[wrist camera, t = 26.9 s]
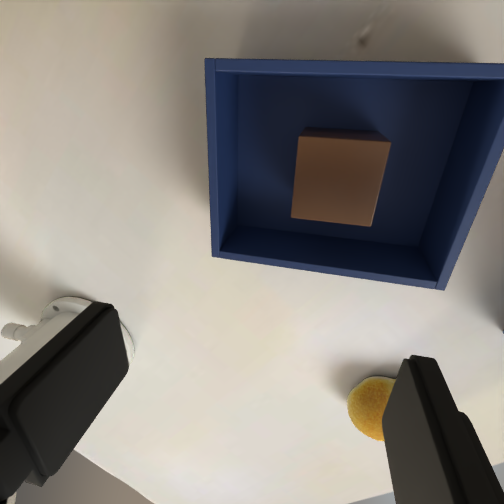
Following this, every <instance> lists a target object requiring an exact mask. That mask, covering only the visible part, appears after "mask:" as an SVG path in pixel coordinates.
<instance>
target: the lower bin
mask: <svg viewBox="0 0 504 504" xmlns="http://www.w3.org/2000/svg"><path fill="white" fill-rule="evenodd" d="M204 60H205V87H206V114H207V141H208V167H209V194H210V221H211V248H212V257H217V258H219V257H220V258H224V259H230V260H237V261H244V262H251V263H258V264H265V265H272V266H279V267H285V268H292V269H299V270H306V271H313V272H320V273H327V274H334V275H340V276H347V277H354V278H361V279H368V280H375V281H382V282H389V283H395V284H402V285H409V286H416V287H423V288H430V289H437V290H445V288H446V285H447V283H448V281H449V278H450V276H451V273H452V271H453V269H454V266H455V264H456V261H457V259H458V257H459V254H460V252H461V249H462V247H463V245H464V242H465V240H466V237H467V235H468V233H469V230H470V228H471V225H472V223H473V221H474V218H475V216H476V213H477V211H478V209H479V206H480V204H481V201H482V199H483V197H484V194H485V192H486V189H487V187H488V185H489V182H490V180H491V177H492V175H493V173H494V170H495V168H496V165H497V163H498V161H499V158H500V156H501V153H502V151H503V149H504V63H452V62H396V61H340V60H284V59H228V58H216V59H215V58H205V59H204ZM305 127H316V128H333V129H350V130H368V131H379V132H380V133H381V134H382V135H384V136H385V137H386V138H387V139H388V140H389V141H391V147H390V151H389V155H388V159H387V163H386V168H385V172H384V176H383V180H382V184H381V188H380V192H379V197H378V201H377V205H376V209H375V213H374V217H373V221H372V225H371V227H369V226H360V225H351V224H343V223H334V222H325V221H316V220H307V219H299V218H291V207H292V197H293V187H294V177H295V167H296V157H297V147H298V137H299V135H300V134H301V133H302V131H303V130H304V128H305Z"/></svg>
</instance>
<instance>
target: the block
mask: <svg viewBox="0 0 504 504" xmlns="http://www.w3.org/2000/svg"><path fill="white" fill-rule="evenodd" d="M390 147H391V141H389V140H388V139H387V138H386V137H385V136H384V135H382V134H381V133H380V132H379V131H368V130H350V129H333V128H316V127H305V128H304V130H303V131H302V133H301V134H300V135H299V137H298V147H297V157H296V167H295V177H294V187H293V197H292V207H291V218H299V219H307V220H316V221H325V222H334V223H343V224H351V225H360V226H369V227H371V225H372V221H373V217H374V213H375V209H376V205H377V201H378V197H379V192H380V188H381V184H382V180H383V176H384V172H385V168H386V163H387V159H388V155H389V151H390Z"/></svg>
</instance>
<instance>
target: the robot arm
mask: <svg viewBox="0 0 504 504" xmlns="http://www.w3.org/2000/svg"><path fill="white" fill-rule="evenodd" d="M1 335H2V337H4V338H7V339H11V340H15V341H18V340H19V341H21V344H20V345H19V346H18V347H17V348H16V349H14V350H13V351H12V352H11V353H10V354H8V355H7V356H6V357H5V358H3V359H2V360H1V361H0V504H15V499H16V492H17V489H18V488H19V487H20V486H21V484H22V483H23V481H25V482H26V483H30V484H33V485H37V486H40V487H42V486H43V484H44V483H45V482H46V480H47V479H48V477H49V476H52V475H54V474H55V473H56V472H57V471H58V470H59V469H60V467H61V466H62V464H63V463H64V462H65V460H66V459H67V457H68V456H69V455H70V453H71V452H72V450H73V449H74V448H75V446H76V445H77V443H78V442H79V440H80V439H81V438H82V436H83V435H84V433H85V432H86V431H87V429H88V428H89V426H90V425H91V423H92V422H93V421H94V419H95V418H96V416H97V415H98V414H99V412H100V411H101V409H102V408H103V407H104V405H105V404H106V402H107V401H108V399H109V398H110V397H111V395H112V394H113V392H114V391H115V390H116V388H117V387H118V385H119V384H120V382H121V381H122V380H123V378H124V377H125V375H126V374H127V372H128V369H129V365H130V364H131V363H132V360H133V358H134V346H133V342H132V340H131V337H130V335H129V334H128V332H127V330H126V329H125V327H124V326H123V325H122V324H121V322H120V320H119V316H118V312H117V310H116V309H114V306H113V305H112V304H108V303H102V302H90V301H88V300H85V299H81V298H76V297H62V298H59V299H56V300H55V301H53V302H52V303H50V304H49V305H48V306H47V307H46V308H45V309H44V310H43V312H42V315H41V322H40V323H39V324H37V325H30V326H28V327H26V326H24V325H20V324H16V323H8V324H6V325H5V326H4V327H3V329H2V331H1ZM382 430H383V436H384V441H385V447H386V452H387V457H388V463H389V468H390V474H391V479H392V484H393V490H394V495H395V501H396V504H504V492H503V490H502V488H501V486H500V483H499V481H498V479H497V477H496V475H495V473H494V470H493V468H492V466H491V464H490V462H489V460H488V457H487V455H486V453H485V451H484V449H483V447H482V444H481V442H480V440H479V438H478V436H477V434H476V432H475V429H474V427H473V425H472V423H471V421H470V420H469V418H468V416H467V415H465V414H464V413H463V412H460V411H458V409H457V407H456V404H455V402H454V400H453V398H452V395H451V393H450V391H449V388H448V386H447V384H446V382H445V379H444V377H443V375H442V372H441V370H440V368H439V366H438V363H437V362H436V360H435V359H434V358H429V357H423V356H417V355H412V356H410V358H409V359H404V360H403V362H402V364H401V367H400V370H399V372H398V375H397V378H396V380H395V383H394V386H393V389H392V391H391V394H390V397H389V399H388V402H387V405H386V407H385V410H384V413H383V416H382Z"/></svg>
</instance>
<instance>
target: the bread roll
mask: <svg viewBox="0 0 504 504" xmlns="http://www.w3.org/2000/svg"><path fill="white" fill-rule="evenodd" d="M395 380H396V379H391V378H388V377H382V376H374V377H368V378H366V379H364V380H363V381H362V382H360V383H359V384H358V385H357V386H356V387H355V388H354V389H352V390H351V392H350V393H349V395H348V398H347V408H348V414H349V416H350V418H351V420H352V422H353V424H354V425H355V426H356V428H357V429H358V430H359V431H361V432H362V433H363V434H365V435H367V436H369V437H371V438H373V439H375V440H377V441H384V436H383V430H382V416H383V413H384V410H385V407H386V405H387V402H388V399H389V397H390V394H391V391H392V389H393V386H394V383H395Z"/></svg>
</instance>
